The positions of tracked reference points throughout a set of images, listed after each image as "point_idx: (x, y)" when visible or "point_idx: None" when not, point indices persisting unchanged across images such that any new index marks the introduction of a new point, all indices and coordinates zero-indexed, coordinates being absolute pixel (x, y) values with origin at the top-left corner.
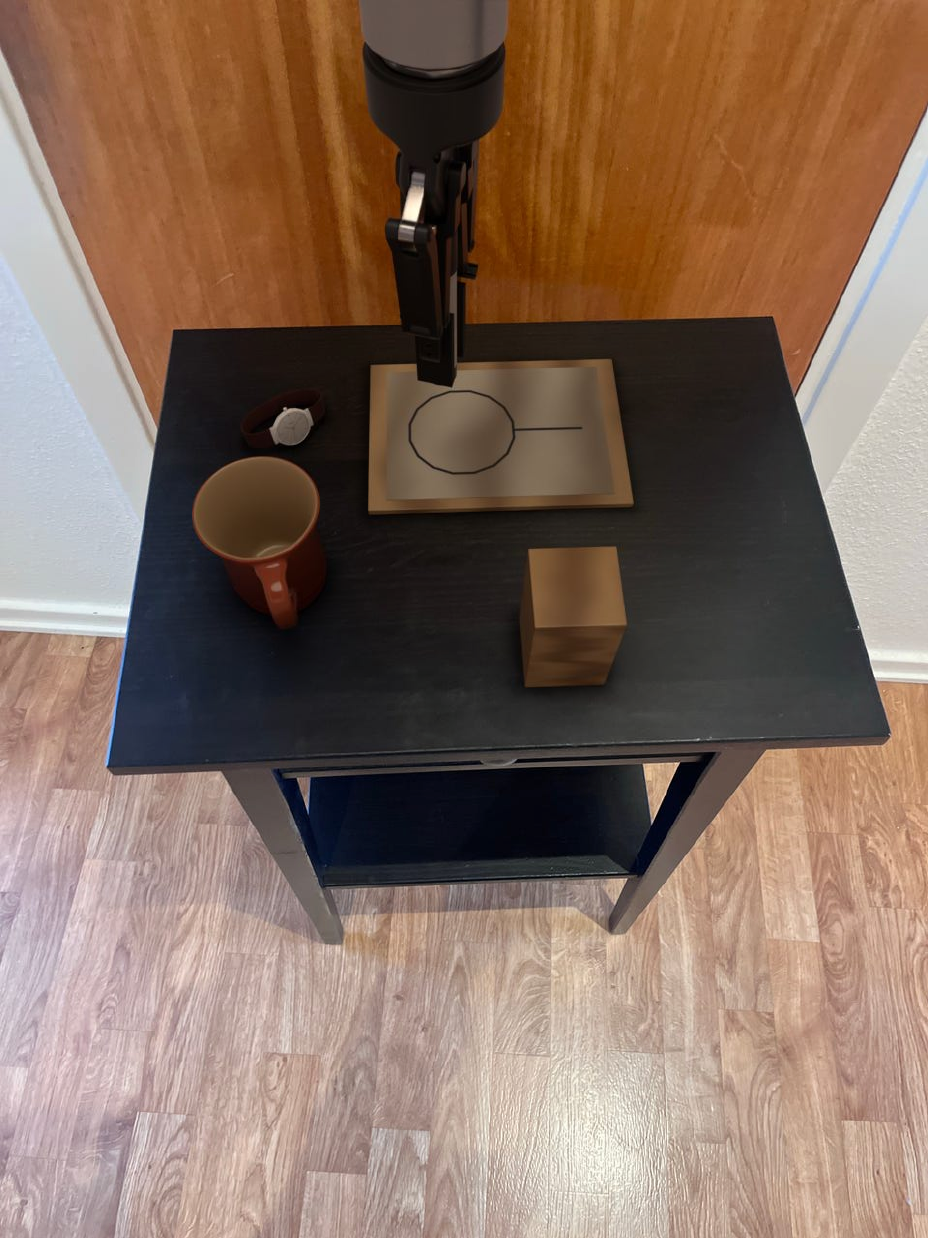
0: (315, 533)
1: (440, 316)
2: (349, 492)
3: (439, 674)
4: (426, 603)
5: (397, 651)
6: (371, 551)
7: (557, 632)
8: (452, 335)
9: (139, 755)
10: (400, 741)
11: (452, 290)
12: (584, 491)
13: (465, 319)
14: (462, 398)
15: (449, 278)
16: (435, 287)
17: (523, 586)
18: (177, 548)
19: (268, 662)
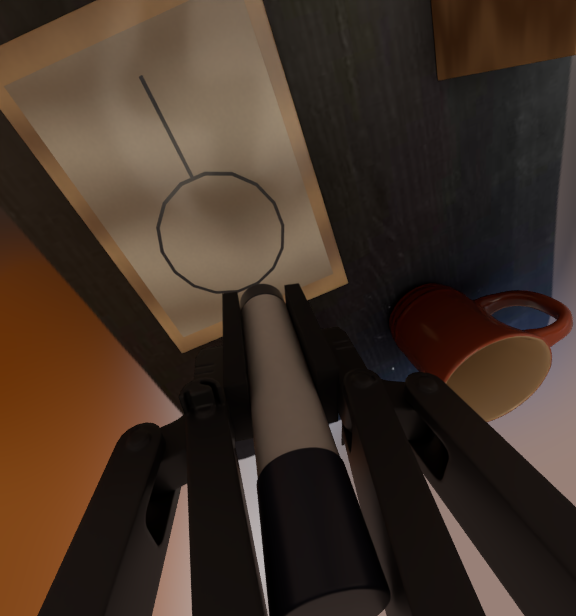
0: (465, 321)
1: (439, 411)
2: (326, 305)
3: (500, 149)
4: (429, 191)
5: (477, 198)
6: (382, 262)
7: None
8: (319, 340)
9: None
10: (559, 161)
11: (307, 411)
12: (250, 37)
13: (223, 328)
14: (177, 255)
15: (380, 464)
16: (572, 523)
17: (491, 70)
18: (401, 381)
19: (486, 289)
